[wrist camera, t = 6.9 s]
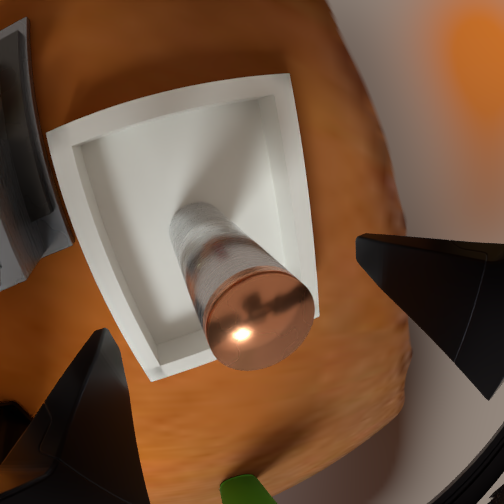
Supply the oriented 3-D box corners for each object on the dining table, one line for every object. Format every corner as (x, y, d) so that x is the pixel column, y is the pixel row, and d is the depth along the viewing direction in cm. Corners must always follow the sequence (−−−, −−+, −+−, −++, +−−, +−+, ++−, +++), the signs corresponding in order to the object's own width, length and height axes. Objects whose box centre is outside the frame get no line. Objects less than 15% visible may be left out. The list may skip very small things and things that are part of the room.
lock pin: (231, 247, 16) (317, 344, 8) (178, 265, 15) (224, 384, 8) (219, 194, 14) (310, 258, 7) (161, 212, 14) (192, 302, 6)
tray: (299, 297, 20) (319, 316, 18) (147, 354, 17) (151, 381, 15) (267, 81, 14) (289, 73, 11) (60, 133, 11) (45, 132, 9)
